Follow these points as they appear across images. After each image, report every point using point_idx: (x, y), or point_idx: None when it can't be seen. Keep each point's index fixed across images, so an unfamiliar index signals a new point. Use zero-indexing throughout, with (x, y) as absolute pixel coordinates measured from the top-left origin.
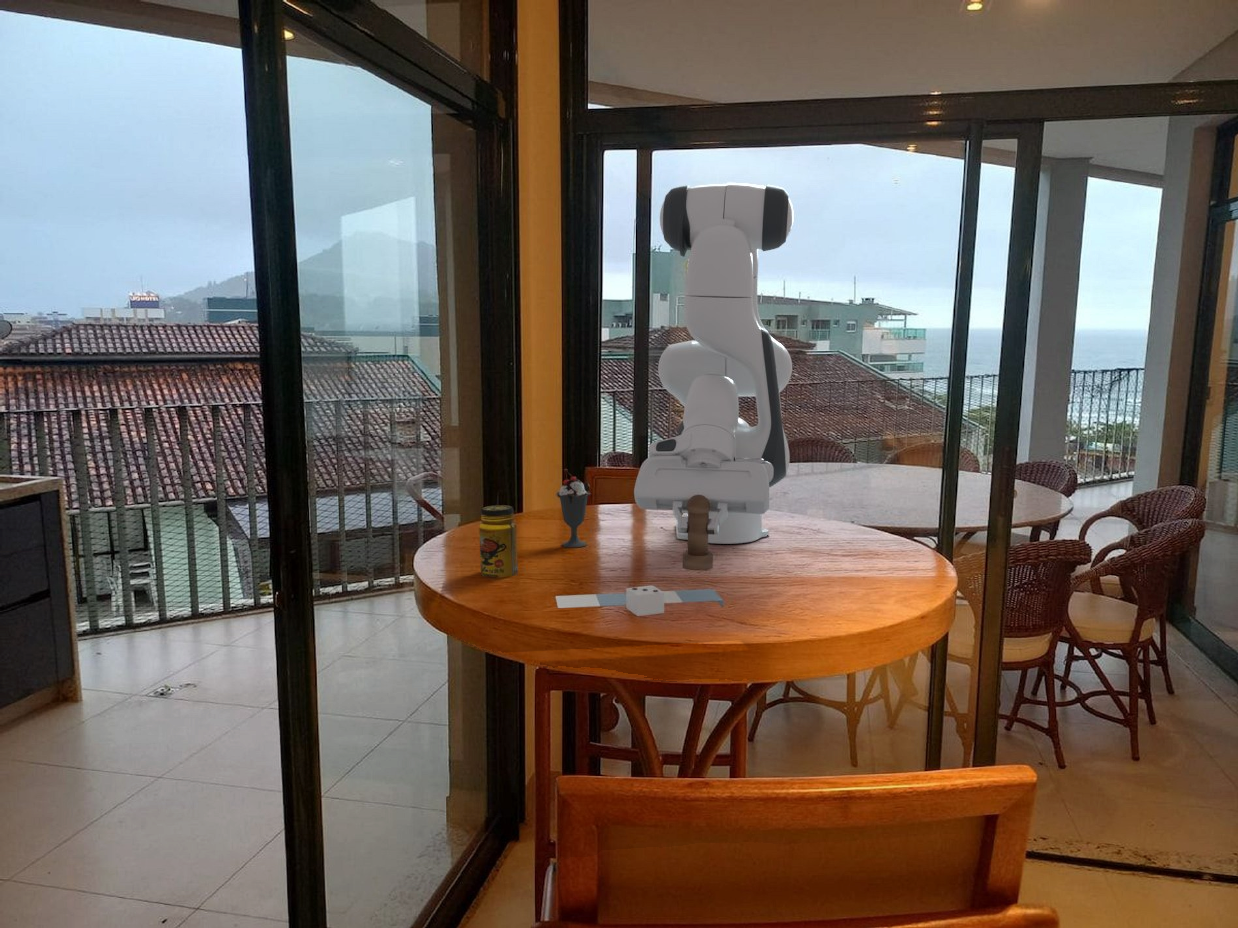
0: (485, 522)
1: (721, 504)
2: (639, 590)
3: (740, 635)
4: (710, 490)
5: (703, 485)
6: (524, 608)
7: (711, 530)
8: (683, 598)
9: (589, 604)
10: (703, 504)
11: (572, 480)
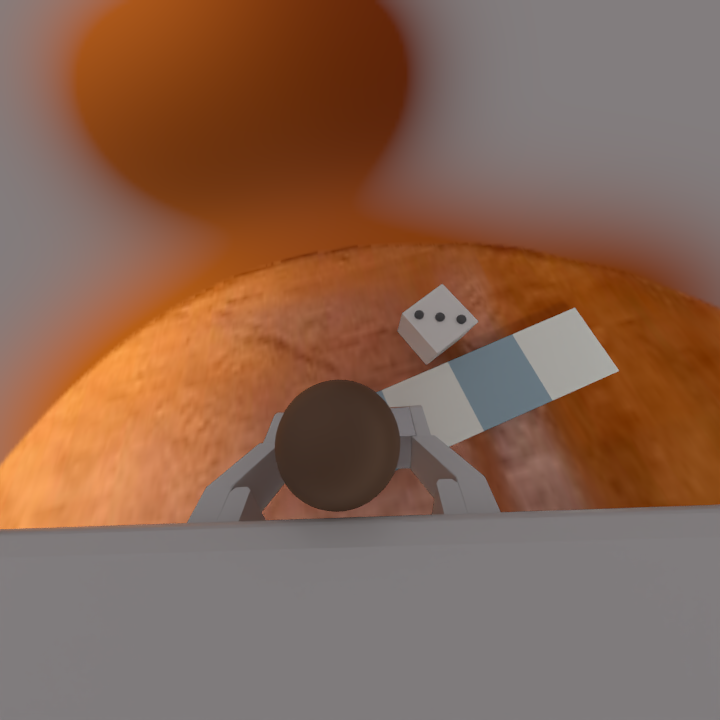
0: None
1: (220, 514)
2: (449, 313)
3: (280, 292)
4: (249, 596)
5: (299, 673)
6: (639, 330)
7: None
8: None
9: (533, 338)
10: (302, 393)
11: None
